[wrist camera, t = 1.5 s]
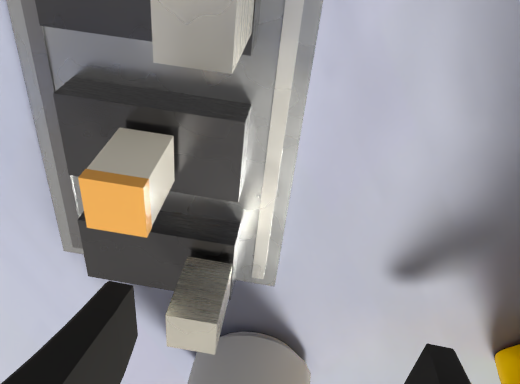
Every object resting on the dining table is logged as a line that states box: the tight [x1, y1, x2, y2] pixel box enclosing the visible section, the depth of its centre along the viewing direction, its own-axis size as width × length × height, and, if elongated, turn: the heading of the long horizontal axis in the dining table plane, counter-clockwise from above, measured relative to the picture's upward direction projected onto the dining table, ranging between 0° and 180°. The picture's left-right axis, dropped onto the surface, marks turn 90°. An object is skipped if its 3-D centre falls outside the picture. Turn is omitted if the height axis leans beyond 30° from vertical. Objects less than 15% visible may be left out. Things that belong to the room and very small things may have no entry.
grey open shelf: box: [6, 0, 323, 355], centre depth 17 cm, size 11×16×6 cm
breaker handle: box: [78, 127, 175, 238], centre depth 16 cm, size 2×2×3 cm
